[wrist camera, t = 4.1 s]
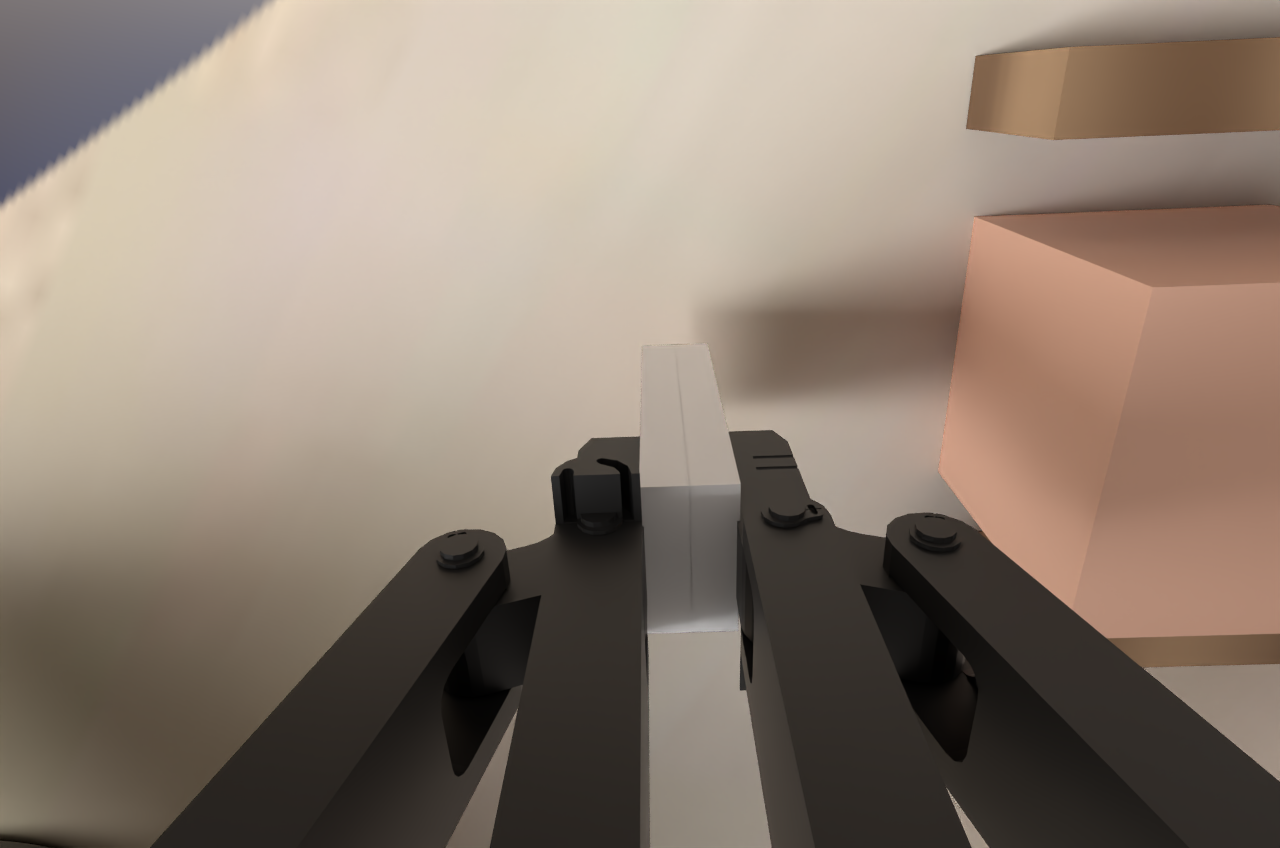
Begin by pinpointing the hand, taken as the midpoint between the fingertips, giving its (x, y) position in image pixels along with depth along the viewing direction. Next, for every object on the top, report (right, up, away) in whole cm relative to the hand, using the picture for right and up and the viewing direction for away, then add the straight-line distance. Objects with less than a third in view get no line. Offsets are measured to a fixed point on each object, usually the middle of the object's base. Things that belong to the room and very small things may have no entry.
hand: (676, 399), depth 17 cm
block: (+11, +1, +2) cm, 11 cm away
